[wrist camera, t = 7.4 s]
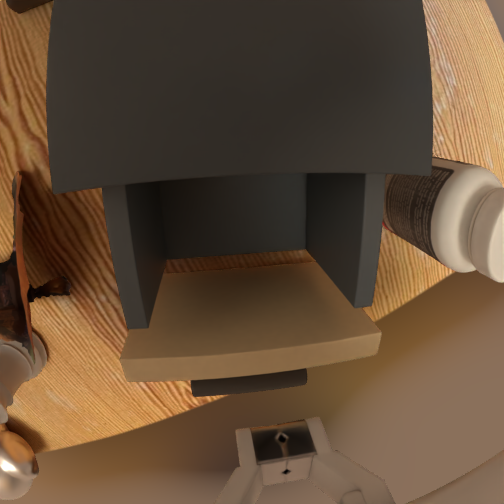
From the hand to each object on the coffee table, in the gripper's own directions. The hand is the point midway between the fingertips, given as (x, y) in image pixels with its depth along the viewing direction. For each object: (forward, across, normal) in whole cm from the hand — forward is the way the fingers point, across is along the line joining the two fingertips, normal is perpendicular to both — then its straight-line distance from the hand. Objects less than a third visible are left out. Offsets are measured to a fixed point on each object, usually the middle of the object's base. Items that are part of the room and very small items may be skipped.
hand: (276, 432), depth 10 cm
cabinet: (+11, 0, -15) cm, 19 cm away
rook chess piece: (+11, +17, +3) cm, 21 cm away
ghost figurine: (+7, +32, +16) cm, 37 cm away
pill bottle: (+11, -11, -6) cm, 16 cm away
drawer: (+10, 0, -5) cm, 11 cm away
